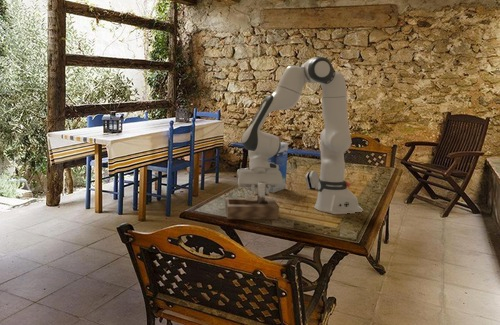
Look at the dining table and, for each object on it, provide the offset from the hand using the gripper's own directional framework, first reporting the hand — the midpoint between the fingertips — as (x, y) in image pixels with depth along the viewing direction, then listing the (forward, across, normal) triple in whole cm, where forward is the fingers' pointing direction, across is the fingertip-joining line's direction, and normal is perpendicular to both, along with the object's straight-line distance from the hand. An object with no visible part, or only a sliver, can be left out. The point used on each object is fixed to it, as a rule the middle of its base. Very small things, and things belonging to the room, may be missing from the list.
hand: (261, 194), depth 188 cm
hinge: (-32, +40, +46) cm, 69 cm away
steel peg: (+4, 0, +5) cm, 7 cm away
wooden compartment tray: (+6, -4, +7) cm, 10 cm away
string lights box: (-26, +15, +39) cm, 49 cm away
